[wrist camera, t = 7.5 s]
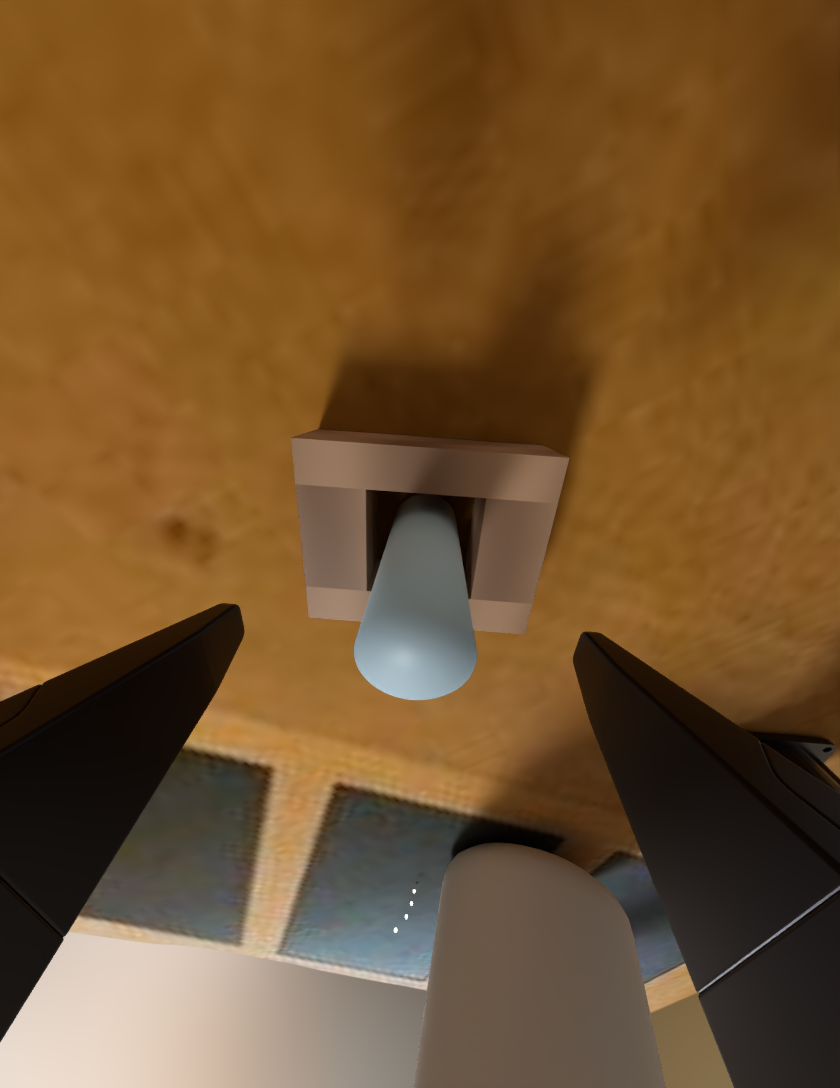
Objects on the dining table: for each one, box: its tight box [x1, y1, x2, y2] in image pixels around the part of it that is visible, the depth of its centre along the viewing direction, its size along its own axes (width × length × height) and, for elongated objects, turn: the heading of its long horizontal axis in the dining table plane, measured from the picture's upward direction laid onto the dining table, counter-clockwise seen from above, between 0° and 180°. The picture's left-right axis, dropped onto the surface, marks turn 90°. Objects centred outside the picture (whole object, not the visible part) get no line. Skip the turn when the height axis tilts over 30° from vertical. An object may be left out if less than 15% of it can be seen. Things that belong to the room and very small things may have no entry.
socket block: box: [291, 429, 569, 634], centre depth 15 cm, size 10×8×3 cm
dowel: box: [354, 494, 477, 700], centre depth 12 cm, size 3×3×9 cm
